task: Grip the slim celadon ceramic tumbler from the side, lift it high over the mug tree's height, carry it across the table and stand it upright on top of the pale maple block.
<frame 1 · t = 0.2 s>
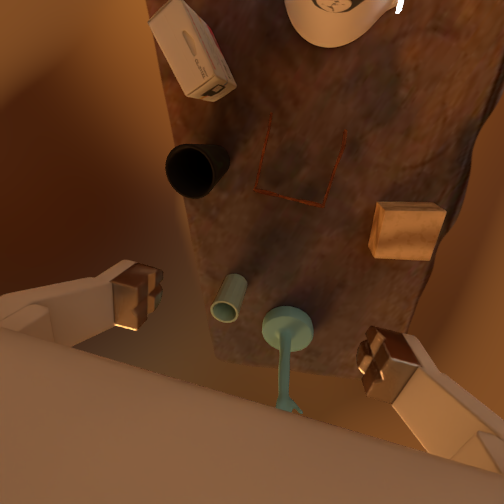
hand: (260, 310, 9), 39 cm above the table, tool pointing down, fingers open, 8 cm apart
glasses: (298, 161, 43), on the table
tumbler: (235, 283, 58), on the table
block: (397, 225, 45), on the table
cup: (215, 160, 45), on the table
mug tree: (287, 322, 61), on the table
ink box: (212, 67, 39), on the table
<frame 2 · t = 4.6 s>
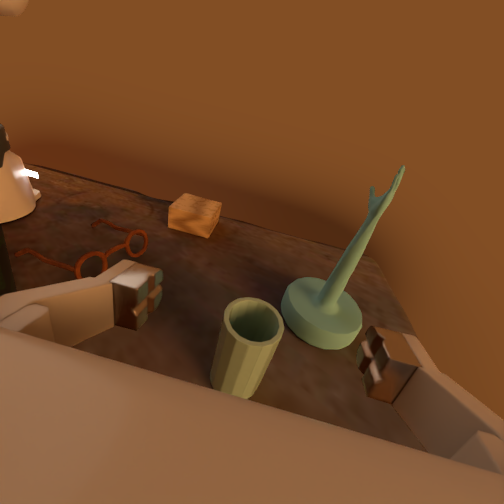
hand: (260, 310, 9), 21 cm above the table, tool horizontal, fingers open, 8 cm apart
glasses: (89, 254, 40), on the table
tumbler: (234, 375, 29), on the table
block: (194, 224, 56), on the table
mug tree: (315, 319, 40), on the table
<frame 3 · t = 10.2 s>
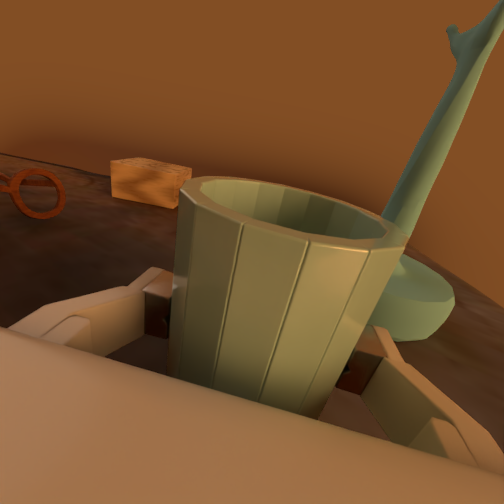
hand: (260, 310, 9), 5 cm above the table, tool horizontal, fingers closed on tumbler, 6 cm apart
tumbler: (233, 419, 11), on the table, touching gripper
block: (154, 196, 39), on the table
mug tree: (359, 298, 23), on the table
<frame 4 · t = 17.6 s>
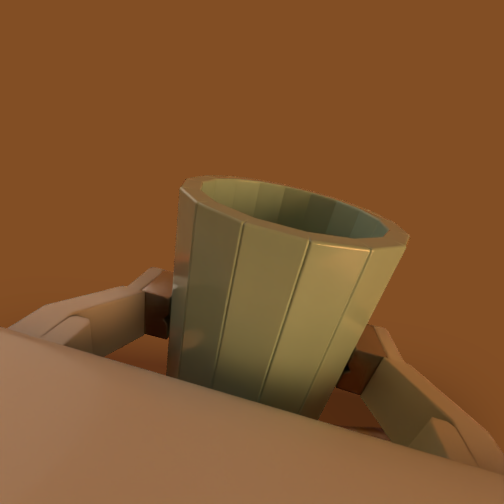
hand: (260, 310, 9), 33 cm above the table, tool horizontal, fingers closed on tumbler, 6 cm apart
tumbler: (233, 419, 11), point 27 cm above the table, touching gripper
when the fingers open (10 cm above the table, at t = 25.5 s): tumbler stays where it is, resting on block.
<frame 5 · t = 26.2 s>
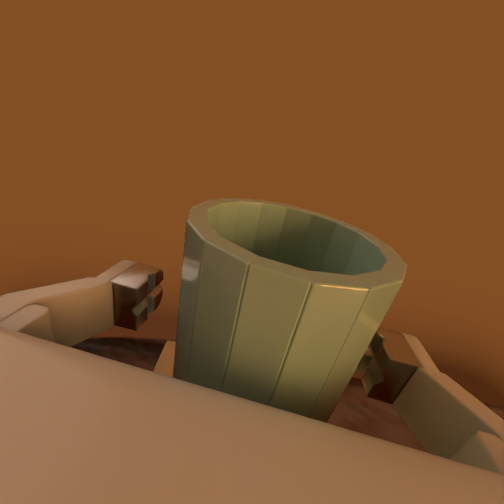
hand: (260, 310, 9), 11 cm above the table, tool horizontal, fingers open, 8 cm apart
tumbler: (235, 431, 11), point 5 cm above the table, touching block
block: (216, 482, 13), on the table, touching tumbler
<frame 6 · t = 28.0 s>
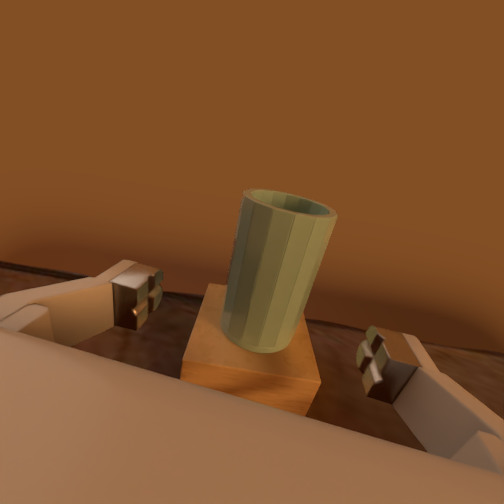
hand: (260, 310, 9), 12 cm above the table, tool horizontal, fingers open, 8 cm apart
tumbler: (256, 323, 19), point 5 cm above the table, touching block
block: (242, 366, 21), on the table, touching tumbler
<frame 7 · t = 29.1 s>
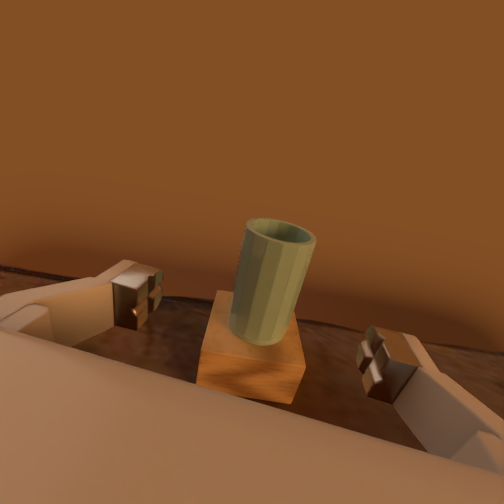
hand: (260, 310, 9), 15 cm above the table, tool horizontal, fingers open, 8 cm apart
tumbler: (256, 322, 24), point 5 cm above the table, touching block
block: (245, 357, 26), on the table, touching tumbler
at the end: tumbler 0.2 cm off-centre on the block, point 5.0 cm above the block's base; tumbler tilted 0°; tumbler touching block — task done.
